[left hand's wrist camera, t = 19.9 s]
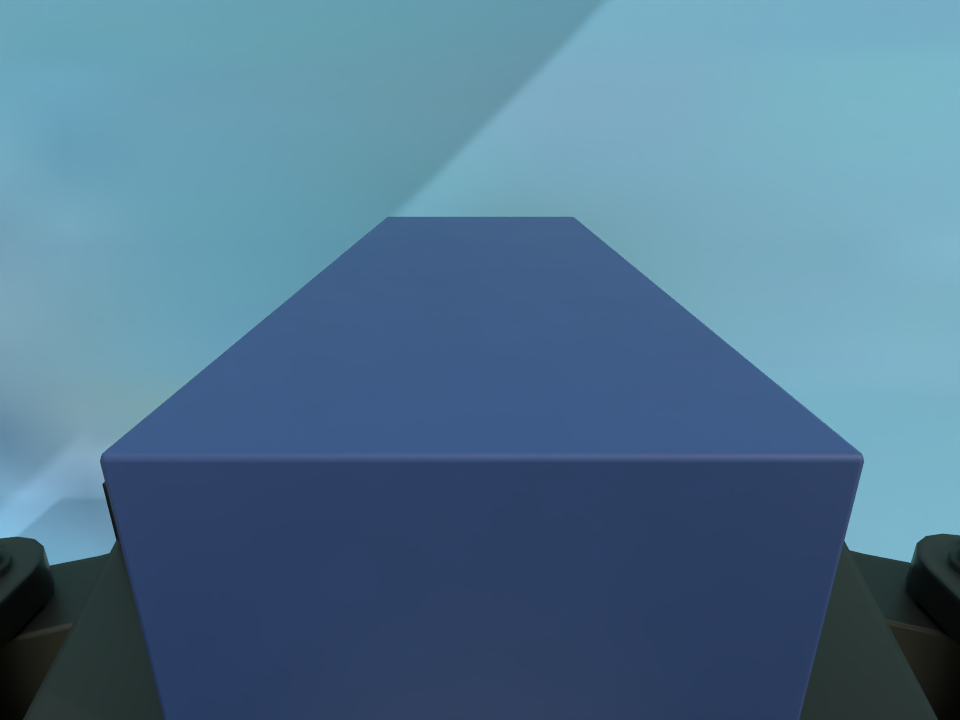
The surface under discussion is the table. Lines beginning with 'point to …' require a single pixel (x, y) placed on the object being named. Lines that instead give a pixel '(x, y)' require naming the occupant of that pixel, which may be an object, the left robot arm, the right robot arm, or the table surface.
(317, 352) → the brick
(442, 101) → the table surface
